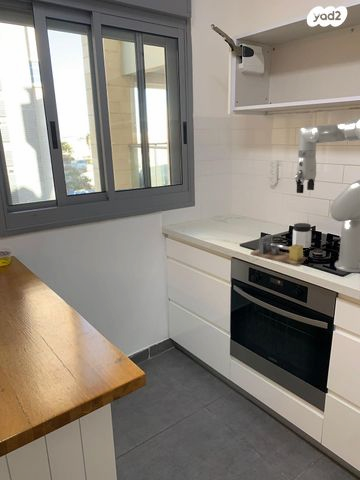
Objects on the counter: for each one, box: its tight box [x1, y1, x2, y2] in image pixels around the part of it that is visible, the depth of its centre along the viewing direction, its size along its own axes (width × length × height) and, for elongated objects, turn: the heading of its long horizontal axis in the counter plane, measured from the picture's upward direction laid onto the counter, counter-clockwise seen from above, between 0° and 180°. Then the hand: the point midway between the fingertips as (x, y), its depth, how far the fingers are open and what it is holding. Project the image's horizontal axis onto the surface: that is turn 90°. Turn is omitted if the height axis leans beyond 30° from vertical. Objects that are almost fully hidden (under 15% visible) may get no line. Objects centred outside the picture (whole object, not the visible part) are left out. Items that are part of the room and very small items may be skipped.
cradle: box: [272, 247, 280, 256], centre depth 172 cm, size 2×3×4 cm, turn 132°
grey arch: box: [258, 234, 274, 254], centre depth 175 cm, size 2×8×9 cm, turn 133°
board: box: [250, 248, 308, 267], centre depth 171 cm, size 25×10×1 cm, turn 43°
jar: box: [291, 222, 312, 249], centre depth 182 cm, size 9×8×12 cm
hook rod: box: [270, 242, 304, 261], centre depth 168 cm, size 16×5×6 cm, turn 43°
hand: (305, 191), depth 168 cm, fingers open, 9 cm apart
